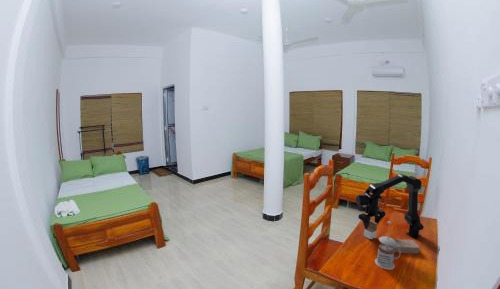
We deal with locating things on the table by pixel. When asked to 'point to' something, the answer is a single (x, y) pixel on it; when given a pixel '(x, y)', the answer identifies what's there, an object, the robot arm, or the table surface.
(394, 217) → the table surface
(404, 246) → the brick
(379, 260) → the french press
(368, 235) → the white cube
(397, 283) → the table surface
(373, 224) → the walnut cube
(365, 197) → the robot arm
